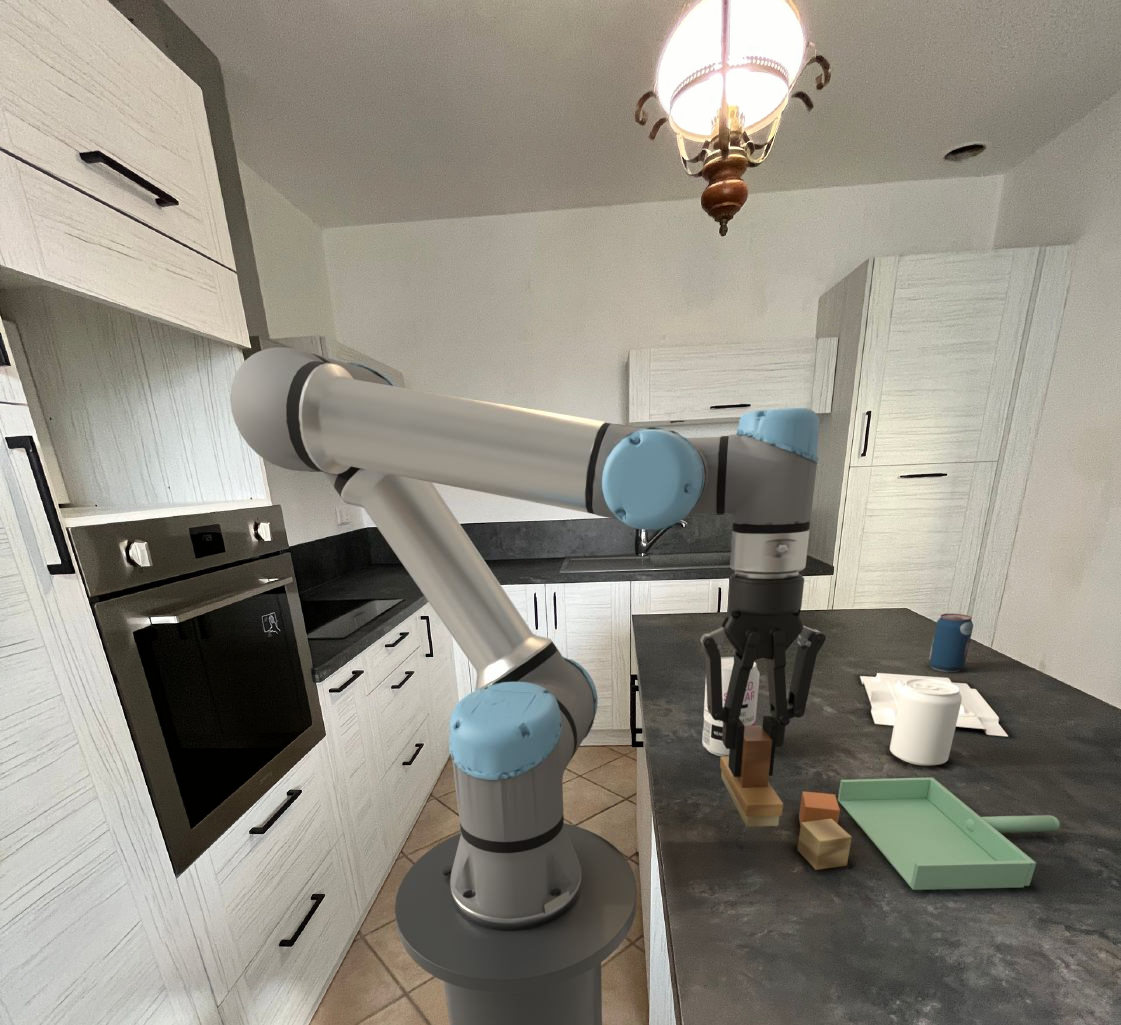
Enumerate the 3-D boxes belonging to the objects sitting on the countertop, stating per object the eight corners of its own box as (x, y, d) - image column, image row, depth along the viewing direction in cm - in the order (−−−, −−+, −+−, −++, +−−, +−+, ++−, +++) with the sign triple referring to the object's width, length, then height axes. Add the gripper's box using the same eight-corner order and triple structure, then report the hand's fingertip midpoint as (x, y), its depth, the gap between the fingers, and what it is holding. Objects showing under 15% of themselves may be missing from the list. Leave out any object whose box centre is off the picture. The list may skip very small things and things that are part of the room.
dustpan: (913, 890, 65) (918, 865, 63) (837, 799, 82) (840, 779, 81) (1122, 885, 64) (1131, 860, 63) (1000, 795, 82) (1006, 775, 81)
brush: (744, 828, 66) (751, 756, 63) (719, 777, 77) (723, 713, 74) (780, 827, 66) (788, 755, 63) (749, 776, 77) (755, 712, 74)
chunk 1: (801, 833, 75) (805, 806, 74) (798, 817, 79) (802, 791, 77) (835, 837, 74) (840, 810, 73) (831, 820, 78) (835, 794, 76)
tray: (966, 683, 124) (970, 666, 122) (1008, 742, 100) (1014, 722, 98) (858, 675, 130) (861, 660, 129) (873, 729, 106) (877, 710, 105)
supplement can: (724, 734, 104) (730, 652, 99) (763, 750, 98) (771, 664, 92) (691, 746, 100) (696, 662, 95) (730, 763, 94) (736, 674, 88)
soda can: (970, 672, 130) (982, 619, 125) (938, 673, 130) (948, 620, 126) (952, 663, 136) (963, 612, 132) (921, 664, 137) (931, 613, 132)
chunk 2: (815, 870, 68) (819, 841, 67) (797, 850, 72) (800, 822, 70) (847, 865, 69) (852, 836, 67) (827, 846, 72) (831, 818, 71)
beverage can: (944, 773, 88) (961, 699, 84) (884, 760, 93) (897, 688, 89) (950, 753, 94) (966, 683, 90) (893, 741, 99) (906, 674, 95)
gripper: (697, 581, 58) (688, 788, 67) (860, 575, 58) (831, 784, 66) (683, 570, 65) (677, 759, 74) (828, 564, 65) (805, 754, 73)
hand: (750, 770), depth 70 cm, fingers closed on brush, 3 cm apart
